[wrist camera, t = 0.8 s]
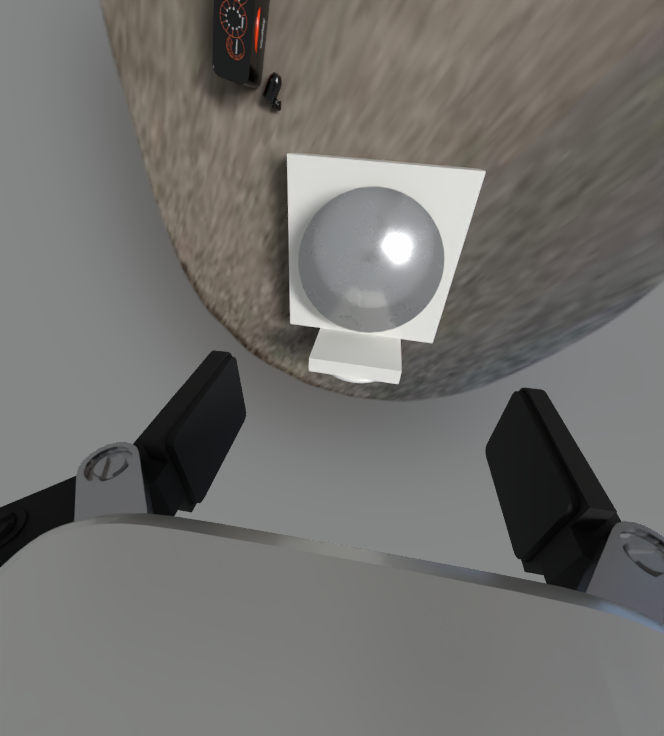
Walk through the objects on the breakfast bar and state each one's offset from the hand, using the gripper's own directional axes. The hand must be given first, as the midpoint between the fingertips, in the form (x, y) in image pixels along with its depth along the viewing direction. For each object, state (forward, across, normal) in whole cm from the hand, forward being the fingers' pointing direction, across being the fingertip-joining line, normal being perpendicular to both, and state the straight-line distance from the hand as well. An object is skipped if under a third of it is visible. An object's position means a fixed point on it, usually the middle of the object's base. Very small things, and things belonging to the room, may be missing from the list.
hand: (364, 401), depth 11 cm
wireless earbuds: (+25, +11, -12) cm, 30 cm away
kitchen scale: (+25, +1, +3) cm, 25 cm away
